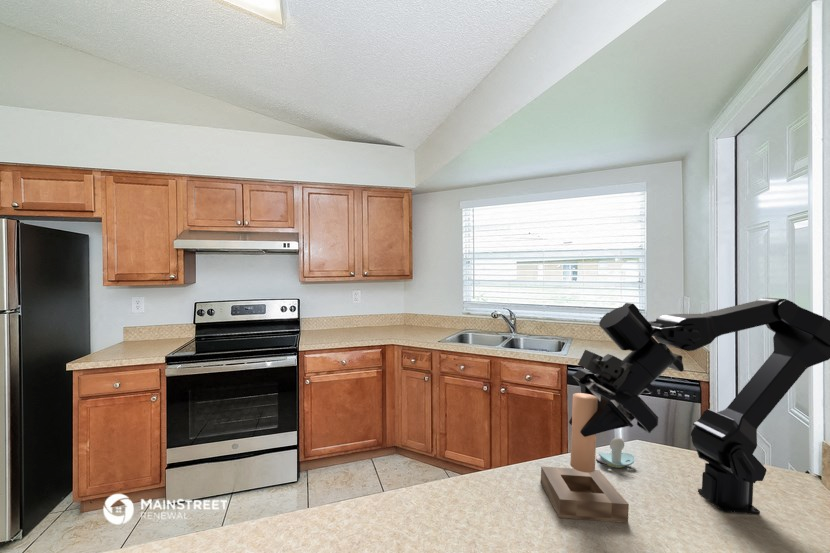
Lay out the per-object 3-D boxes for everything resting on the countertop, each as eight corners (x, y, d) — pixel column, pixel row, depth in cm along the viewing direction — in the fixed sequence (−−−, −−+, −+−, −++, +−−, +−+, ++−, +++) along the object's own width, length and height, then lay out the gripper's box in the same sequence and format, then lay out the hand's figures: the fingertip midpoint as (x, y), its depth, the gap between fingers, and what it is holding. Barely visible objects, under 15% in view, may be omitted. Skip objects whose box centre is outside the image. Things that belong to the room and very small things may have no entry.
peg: (583, 460, 71) (586, 392, 71) (600, 471, 67) (602, 399, 67) (565, 462, 70) (568, 393, 70) (581, 473, 66) (583, 400, 66)
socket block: (598, 485, 74) (599, 470, 74) (627, 522, 63) (628, 504, 63) (540, 481, 74) (541, 466, 74) (559, 517, 63) (560, 499, 63)
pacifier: (589, 458, 86) (605, 470, 80) (590, 429, 86) (606, 440, 80) (620, 457, 87) (638, 470, 81) (620, 429, 87) (639, 440, 81)
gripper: (584, 328, 78) (528, 382, 77) (642, 345, 59) (569, 415, 59) (620, 368, 78) (565, 422, 78) (690, 398, 60) (617, 468, 59)
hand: (576, 429), depth 68 cm, fingers closed on peg, 4 cm apart
